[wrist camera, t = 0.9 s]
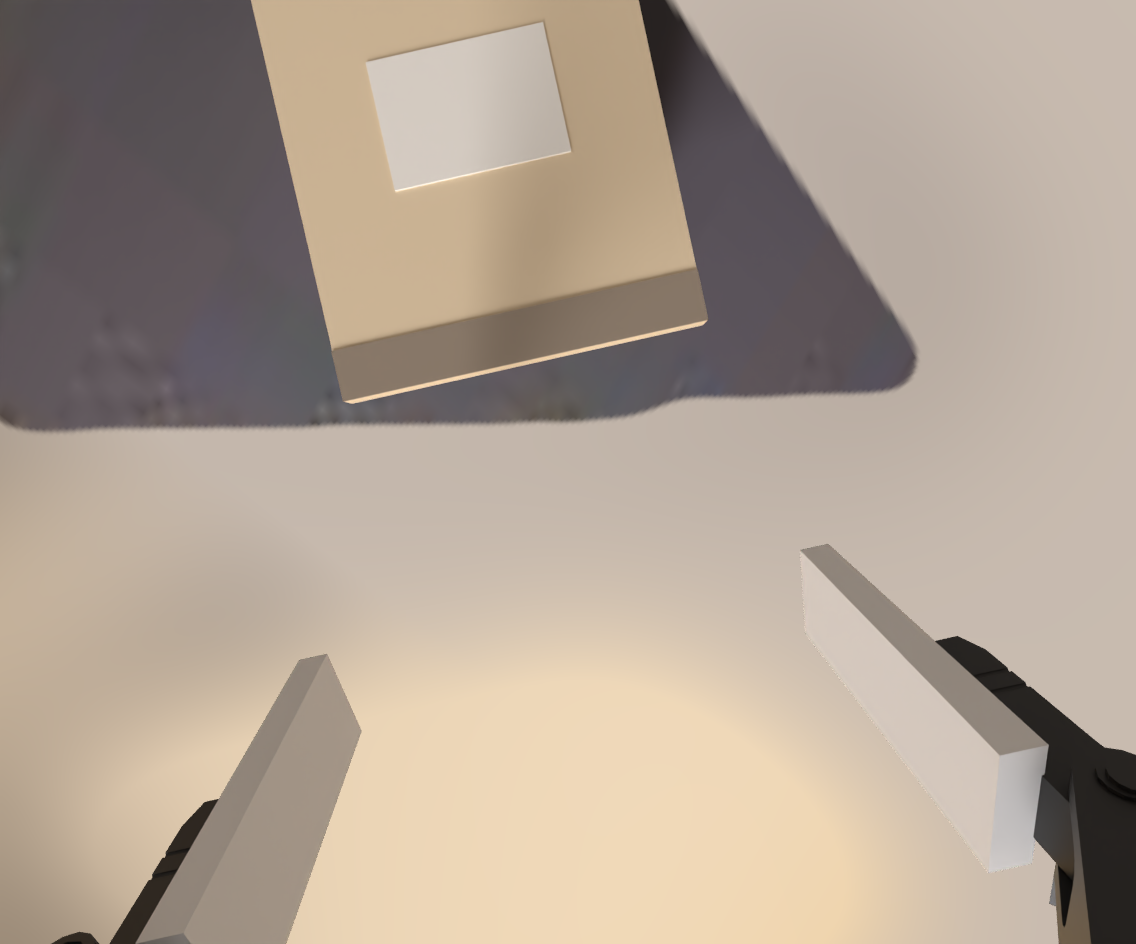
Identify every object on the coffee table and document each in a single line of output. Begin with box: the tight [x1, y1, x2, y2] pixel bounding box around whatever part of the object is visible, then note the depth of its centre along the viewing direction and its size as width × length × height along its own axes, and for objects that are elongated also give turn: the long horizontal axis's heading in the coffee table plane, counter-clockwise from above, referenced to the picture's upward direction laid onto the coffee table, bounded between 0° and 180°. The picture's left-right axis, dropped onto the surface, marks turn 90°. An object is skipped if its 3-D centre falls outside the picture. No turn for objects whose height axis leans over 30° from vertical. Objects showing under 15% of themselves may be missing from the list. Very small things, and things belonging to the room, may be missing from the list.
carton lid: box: [251, 0, 708, 404], centre depth 22 cm, size 21×15×1 cm
